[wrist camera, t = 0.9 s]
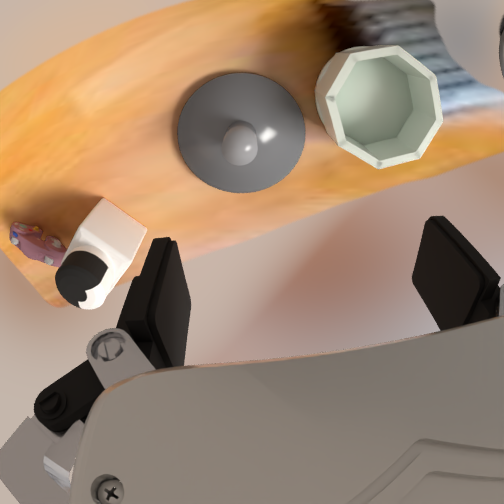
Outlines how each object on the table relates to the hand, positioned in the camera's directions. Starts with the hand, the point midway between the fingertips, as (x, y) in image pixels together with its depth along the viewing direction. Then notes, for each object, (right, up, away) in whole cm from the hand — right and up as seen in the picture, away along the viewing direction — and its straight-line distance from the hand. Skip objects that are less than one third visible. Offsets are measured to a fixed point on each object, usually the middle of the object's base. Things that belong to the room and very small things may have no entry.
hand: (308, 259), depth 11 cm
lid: (-3, +13, +21) cm, 25 cm away
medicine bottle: (-20, +3, +28) cm, 34 cm away
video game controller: (-32, +3, +28) cm, 42 cm away
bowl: (+10, +16, +18) cm, 26 cm away
